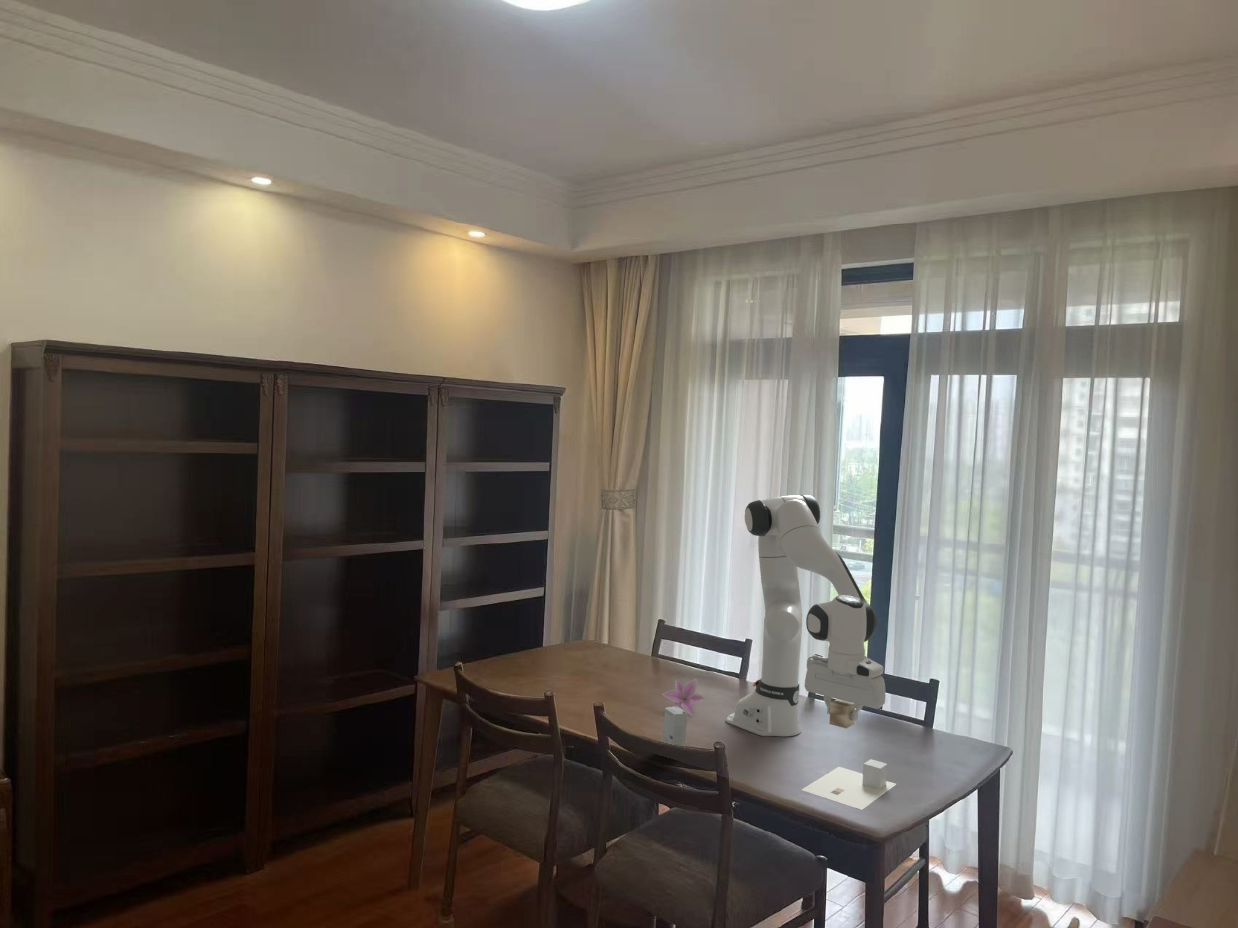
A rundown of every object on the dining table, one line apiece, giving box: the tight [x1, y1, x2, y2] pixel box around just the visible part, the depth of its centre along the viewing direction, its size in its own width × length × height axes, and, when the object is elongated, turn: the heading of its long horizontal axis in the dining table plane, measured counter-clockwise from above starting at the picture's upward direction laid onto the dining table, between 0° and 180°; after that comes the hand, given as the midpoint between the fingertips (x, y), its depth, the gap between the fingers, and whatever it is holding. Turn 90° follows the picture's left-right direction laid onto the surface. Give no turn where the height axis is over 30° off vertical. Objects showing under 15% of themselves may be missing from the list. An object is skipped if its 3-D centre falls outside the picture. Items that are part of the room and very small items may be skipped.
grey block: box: [862, 758, 888, 790], centre depth 225 cm, size 4×4×6 cm
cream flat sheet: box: [801, 766, 897, 811], centre depth 223 cm, size 16×22×1 cm
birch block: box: [829, 699, 856, 729], centre depth 219 cm, size 4×4×6 cm
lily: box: [662, 678, 705, 717], centre depth 278 cm, size 12×12×10 cm
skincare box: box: [661, 706, 689, 747], centre depth 240 cm, size 6×4×12 cm
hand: (842, 716), depth 219 cm, fingers closed on birch block, 4 cm apart
